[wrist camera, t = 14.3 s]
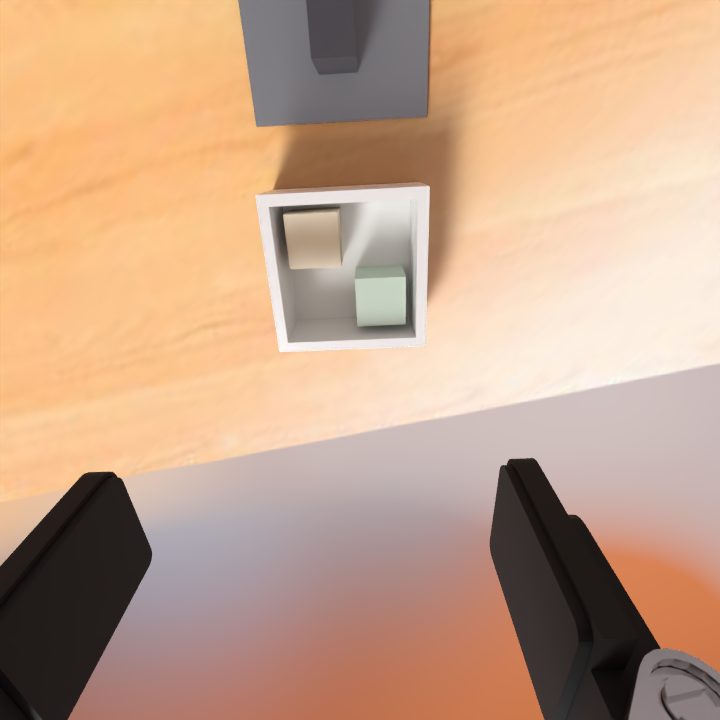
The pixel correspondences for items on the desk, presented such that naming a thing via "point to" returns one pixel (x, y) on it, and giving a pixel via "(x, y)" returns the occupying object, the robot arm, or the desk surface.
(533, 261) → the desk surface
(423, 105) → the lid
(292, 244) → the birch block
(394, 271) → the sage block
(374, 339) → the storage box
